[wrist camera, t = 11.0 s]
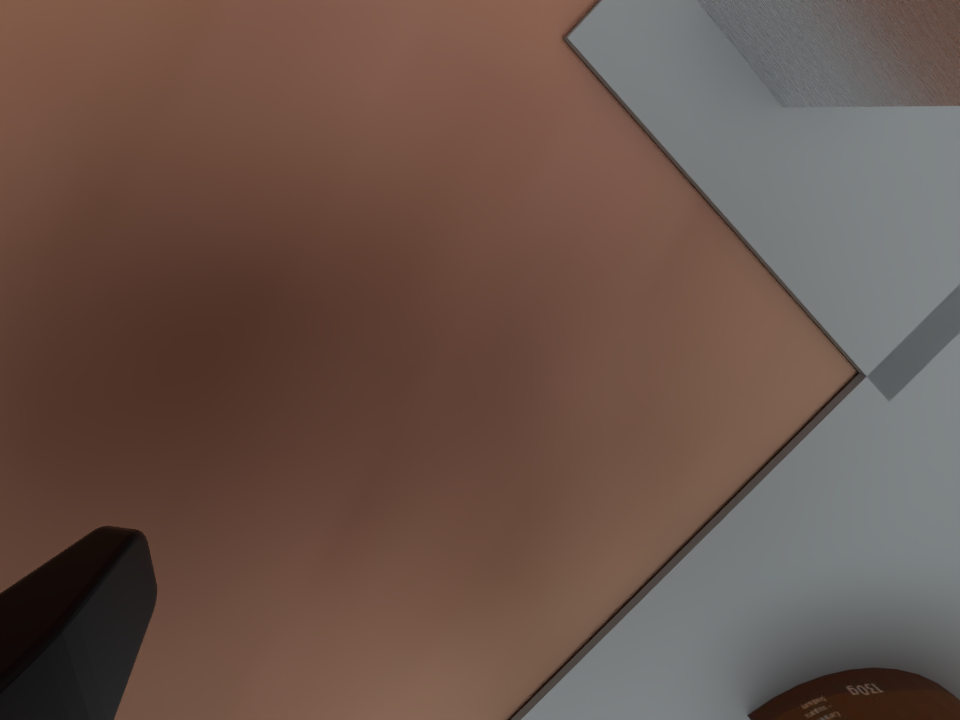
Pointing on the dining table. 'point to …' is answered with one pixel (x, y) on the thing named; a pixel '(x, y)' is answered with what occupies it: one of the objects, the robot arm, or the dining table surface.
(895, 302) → the pull board
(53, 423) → the dining table surface
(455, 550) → the dining table surface
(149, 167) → the dining table surface
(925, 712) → the food container
